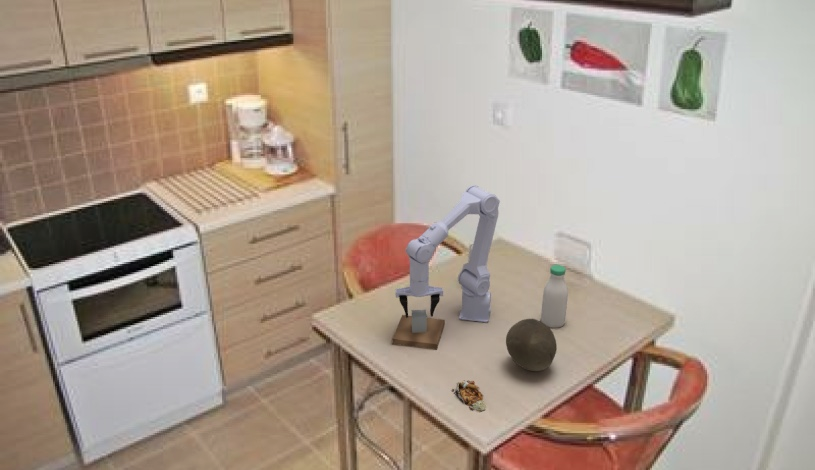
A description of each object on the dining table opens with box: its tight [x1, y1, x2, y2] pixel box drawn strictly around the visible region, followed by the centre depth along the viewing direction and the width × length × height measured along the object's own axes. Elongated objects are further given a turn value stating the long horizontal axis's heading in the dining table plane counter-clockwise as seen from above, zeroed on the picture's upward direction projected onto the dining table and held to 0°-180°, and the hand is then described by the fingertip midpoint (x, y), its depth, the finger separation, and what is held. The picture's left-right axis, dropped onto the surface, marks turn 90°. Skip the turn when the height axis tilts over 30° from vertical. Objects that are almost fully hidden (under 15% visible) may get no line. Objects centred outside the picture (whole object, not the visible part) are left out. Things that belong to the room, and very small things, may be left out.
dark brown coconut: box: [505, 318, 558, 372], centre depth 201 cm, size 14×14×15 cm
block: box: [411, 309, 428, 333], centre depth 218 cm, size 4×4×6 cm
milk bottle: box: [540, 264, 569, 329], centre depth 222 cm, size 8×8×20 cm
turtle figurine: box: [450, 380, 487, 413], centre depth 191 cm, size 7×12×4 cm, turn 31°
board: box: [391, 314, 446, 350], centre depth 220 cm, size 14×14×2 cm
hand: (419, 315), depth 217 cm, fingers open, 7 cm apart
